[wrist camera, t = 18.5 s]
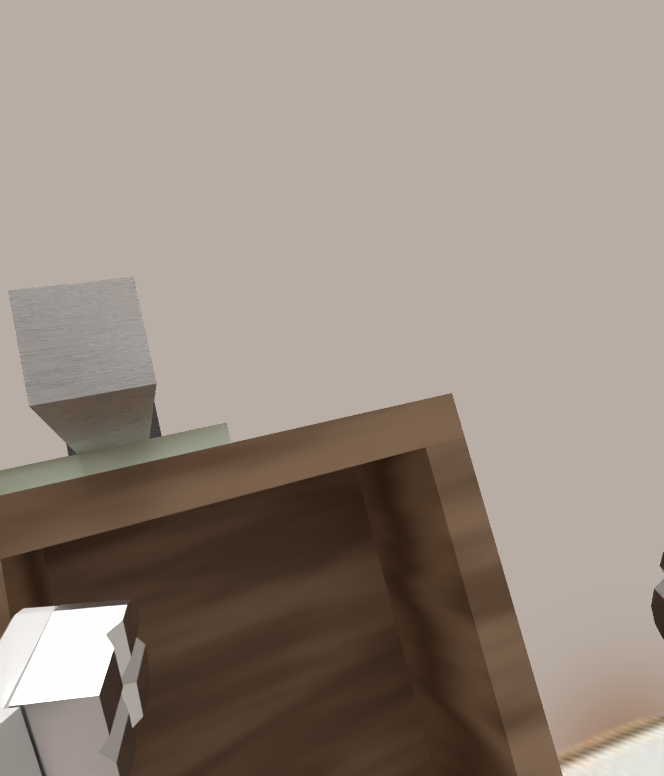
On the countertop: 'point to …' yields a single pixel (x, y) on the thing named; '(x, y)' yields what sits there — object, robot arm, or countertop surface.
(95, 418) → the grey metal bar
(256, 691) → the brown wooden box
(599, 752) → the countertop surface
